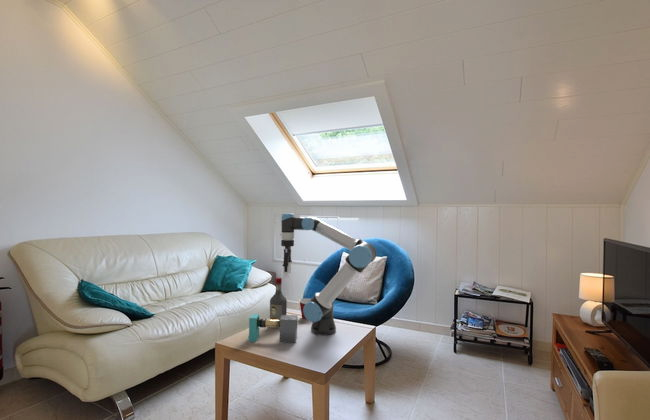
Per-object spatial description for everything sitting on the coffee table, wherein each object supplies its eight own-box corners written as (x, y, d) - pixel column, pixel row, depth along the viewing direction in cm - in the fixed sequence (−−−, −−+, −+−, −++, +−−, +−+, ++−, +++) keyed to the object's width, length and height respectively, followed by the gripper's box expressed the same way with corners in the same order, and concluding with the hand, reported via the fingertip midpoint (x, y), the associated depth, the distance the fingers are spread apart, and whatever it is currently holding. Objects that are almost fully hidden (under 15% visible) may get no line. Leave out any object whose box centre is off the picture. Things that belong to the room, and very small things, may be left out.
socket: (259, 336, 198) (259, 313, 198) (256, 341, 190) (256, 318, 190) (252, 336, 198) (252, 313, 198) (248, 341, 190) (249, 318, 190)
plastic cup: (308, 321, 226) (308, 303, 226) (295, 318, 232) (295, 300, 232) (317, 317, 235) (317, 299, 235) (304, 314, 241) (305, 297, 241)
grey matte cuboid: (297, 337, 198) (297, 315, 198) (295, 342, 190) (296, 319, 190) (281, 336, 198) (281, 314, 198) (279, 342, 190) (279, 319, 190)
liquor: (276, 322, 223) (276, 276, 223) (287, 324, 219) (288, 277, 219) (267, 326, 215) (268, 278, 215) (279, 329, 211) (280, 280, 211)
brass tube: (284, 326, 196) (284, 318, 196) (283, 329, 192) (283, 320, 192) (254, 325, 196) (254, 317, 196) (252, 328, 192) (252, 320, 192)
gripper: (283, 237, 216) (283, 271, 216) (278, 241, 191) (278, 279, 191) (295, 237, 216) (295, 271, 216) (292, 241, 191) (291, 279, 191)
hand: (287, 275), depth 204 cm, fingers open, 13 cm apart
